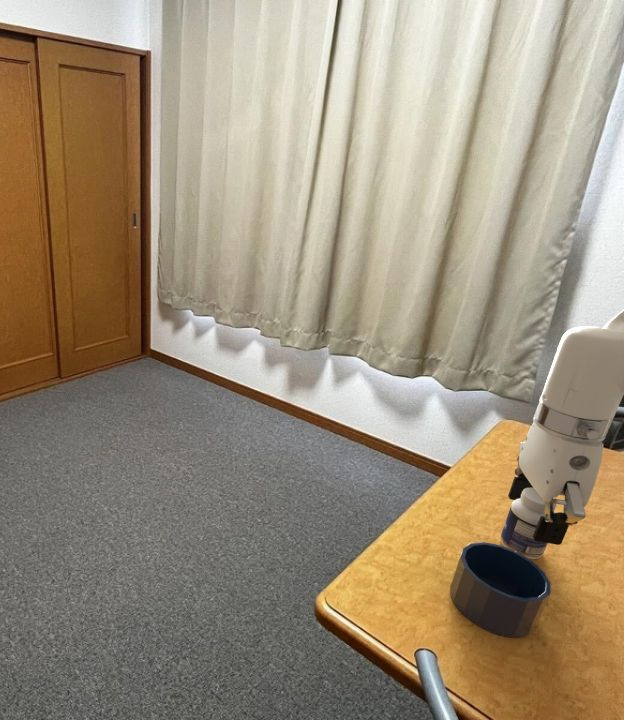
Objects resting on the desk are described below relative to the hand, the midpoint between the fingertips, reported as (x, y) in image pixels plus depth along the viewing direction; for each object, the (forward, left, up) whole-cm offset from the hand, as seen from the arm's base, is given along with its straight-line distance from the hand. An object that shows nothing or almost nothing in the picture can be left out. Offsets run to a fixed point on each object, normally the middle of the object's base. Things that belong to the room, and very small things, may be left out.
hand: (532, 519), depth 71 cm
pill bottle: (0, 0, -6) cm, 6 cm away
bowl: (+8, +13, -5) cm, 16 cm away
